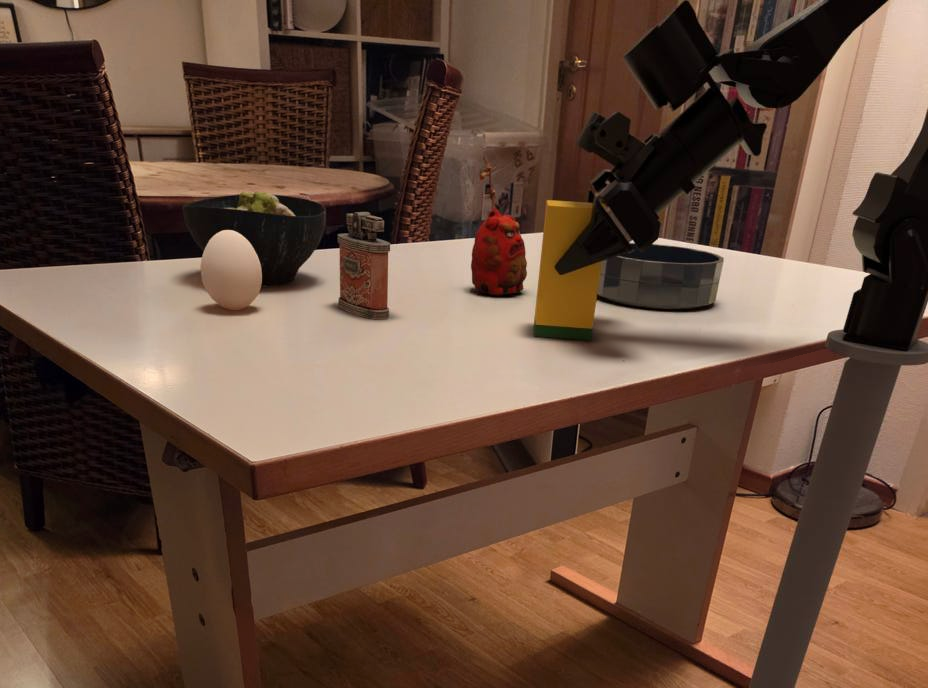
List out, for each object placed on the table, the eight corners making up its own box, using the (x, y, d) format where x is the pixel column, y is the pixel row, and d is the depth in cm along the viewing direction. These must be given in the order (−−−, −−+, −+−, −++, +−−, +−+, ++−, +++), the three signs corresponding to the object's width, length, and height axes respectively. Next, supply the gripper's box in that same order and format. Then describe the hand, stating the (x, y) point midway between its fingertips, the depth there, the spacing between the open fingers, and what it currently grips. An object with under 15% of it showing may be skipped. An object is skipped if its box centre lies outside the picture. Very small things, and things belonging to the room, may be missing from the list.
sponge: (587, 329, 95) (605, 203, 88) (590, 340, 91) (609, 209, 84) (533, 325, 95) (546, 199, 89) (534, 336, 91) (547, 205, 84)
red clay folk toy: (507, 300, 107) (519, 162, 98) (457, 292, 109) (465, 157, 101) (532, 291, 112) (545, 160, 104) (484, 284, 115) (493, 155, 107)
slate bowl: (731, 299, 115) (741, 255, 112) (687, 318, 103) (696, 268, 100) (620, 281, 122) (626, 239, 119) (567, 296, 111) (573, 250, 108)
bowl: (164, 285, 103) (153, 192, 98) (226, 264, 117) (219, 181, 112) (299, 299, 100) (295, 204, 95) (345, 275, 114) (344, 191, 109)
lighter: (331, 305, 99) (330, 208, 93) (356, 303, 100) (356, 207, 95) (370, 320, 93) (370, 218, 88) (396, 317, 95) (398, 217, 90)
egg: (192, 307, 94) (184, 227, 90) (240, 300, 98) (234, 224, 94) (227, 318, 90) (221, 236, 86) (275, 311, 95) (271, 232, 90)
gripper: (624, 80, 88) (507, 193, 95) (646, 76, 73) (504, 212, 79) (686, 172, 92) (570, 275, 99) (719, 187, 77) (578, 308, 83)
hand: (556, 266), depth 90 cm, fingers open, 5 cm apart
